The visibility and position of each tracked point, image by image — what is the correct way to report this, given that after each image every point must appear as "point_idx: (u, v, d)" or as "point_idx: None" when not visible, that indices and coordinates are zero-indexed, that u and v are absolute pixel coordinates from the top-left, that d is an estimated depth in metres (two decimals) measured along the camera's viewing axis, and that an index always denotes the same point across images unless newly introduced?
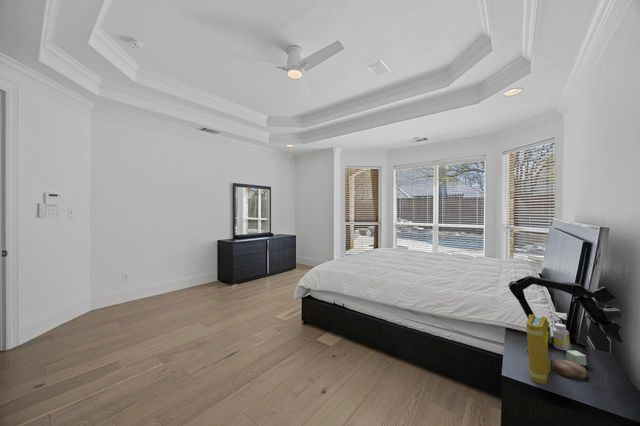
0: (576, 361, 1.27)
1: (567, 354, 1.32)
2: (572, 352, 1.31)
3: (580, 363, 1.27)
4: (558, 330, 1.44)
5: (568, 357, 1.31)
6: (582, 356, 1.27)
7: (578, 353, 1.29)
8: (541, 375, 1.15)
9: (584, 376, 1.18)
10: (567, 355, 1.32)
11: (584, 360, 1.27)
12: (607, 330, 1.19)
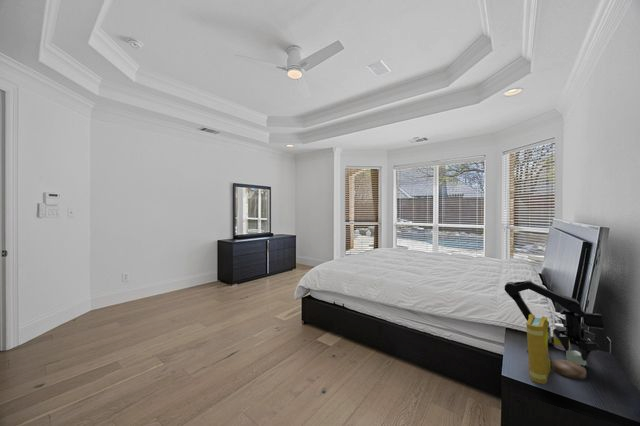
0: (576, 361, 1.27)
1: (567, 354, 1.32)
2: (572, 352, 1.31)
3: (580, 363, 1.27)
4: None
5: (568, 357, 1.31)
6: None
7: (578, 353, 1.29)
8: (541, 375, 1.15)
9: (584, 376, 1.18)
10: (567, 355, 1.32)
11: None
12: (588, 348, 1.21)
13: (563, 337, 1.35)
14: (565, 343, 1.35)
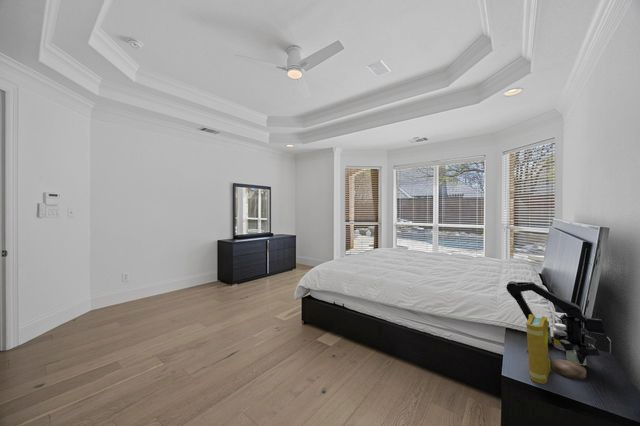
0: (576, 361, 1.27)
1: (567, 354, 1.32)
2: (572, 352, 1.31)
3: None
4: (558, 330, 1.44)
5: (568, 357, 1.31)
6: None
7: None
8: (541, 375, 1.15)
9: (584, 376, 1.18)
10: (567, 355, 1.32)
11: (584, 360, 1.27)
12: (589, 354, 1.21)
13: (567, 344, 1.33)
14: None
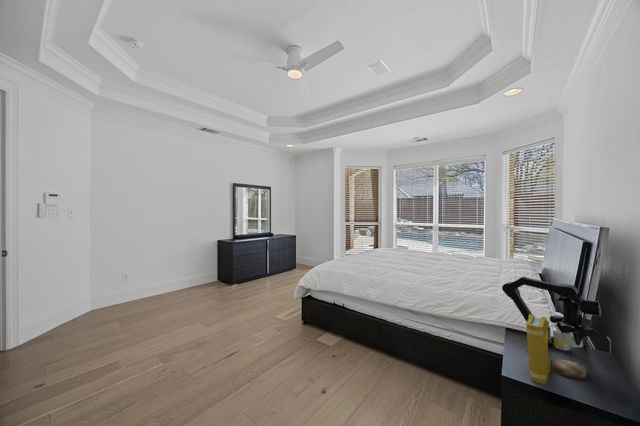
0: (573, 342, 1.26)
1: (564, 336, 1.30)
2: (569, 334, 1.29)
3: None
4: (558, 330, 1.44)
5: (565, 339, 1.30)
6: None
7: None
8: (541, 375, 1.15)
9: (584, 376, 1.18)
10: (564, 337, 1.30)
11: (581, 341, 1.26)
12: (586, 334, 1.19)
13: (563, 326, 1.32)
14: (565, 332, 1.31)
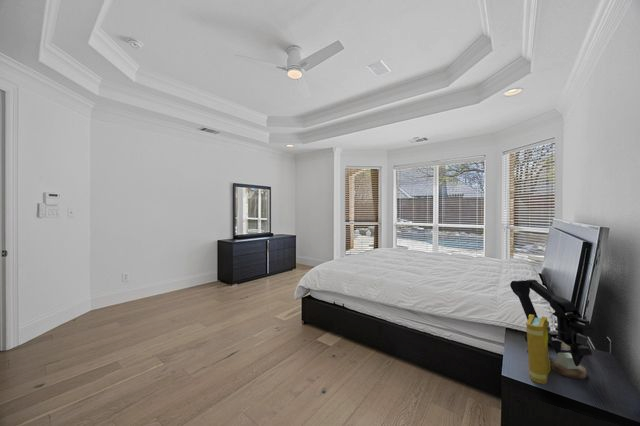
0: (568, 364, 1.21)
1: (559, 356, 1.25)
2: (564, 354, 1.24)
3: (572, 366, 1.21)
4: None
5: (560, 359, 1.25)
6: None
7: (570, 355, 1.23)
8: (541, 375, 1.15)
9: (584, 376, 1.18)
10: (559, 357, 1.25)
11: None
12: (581, 353, 1.14)
13: (555, 341, 1.29)
14: (557, 347, 1.28)
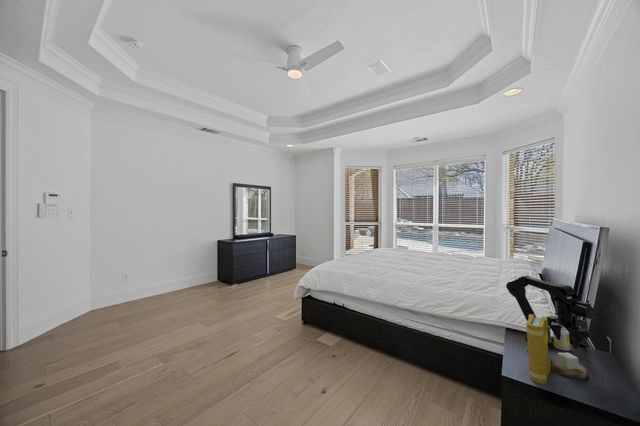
0: (568, 364, 1.21)
1: (559, 356, 1.25)
2: (564, 354, 1.24)
3: (572, 366, 1.21)
4: None
5: (560, 359, 1.25)
6: (574, 358, 1.21)
7: (570, 355, 1.23)
8: (541, 375, 1.15)
9: (584, 376, 1.18)
10: (559, 357, 1.25)
11: (576, 363, 1.21)
12: (579, 335, 1.17)
13: (555, 325, 1.31)
14: (557, 331, 1.30)
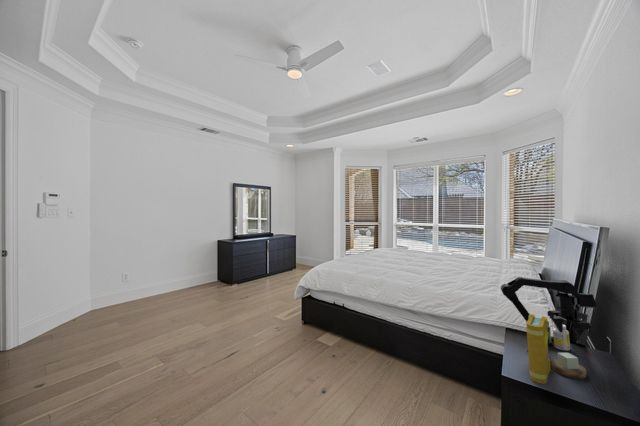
0: (568, 364, 1.21)
1: (559, 356, 1.25)
2: (564, 354, 1.24)
3: (572, 366, 1.21)
4: (558, 330, 1.44)
5: (560, 359, 1.25)
6: (574, 358, 1.21)
7: (570, 355, 1.23)
8: (541, 375, 1.15)
9: (584, 376, 1.18)
10: (559, 357, 1.25)
11: (576, 363, 1.21)
12: (581, 327, 1.24)
13: (557, 319, 1.39)
14: (559, 324, 1.38)
